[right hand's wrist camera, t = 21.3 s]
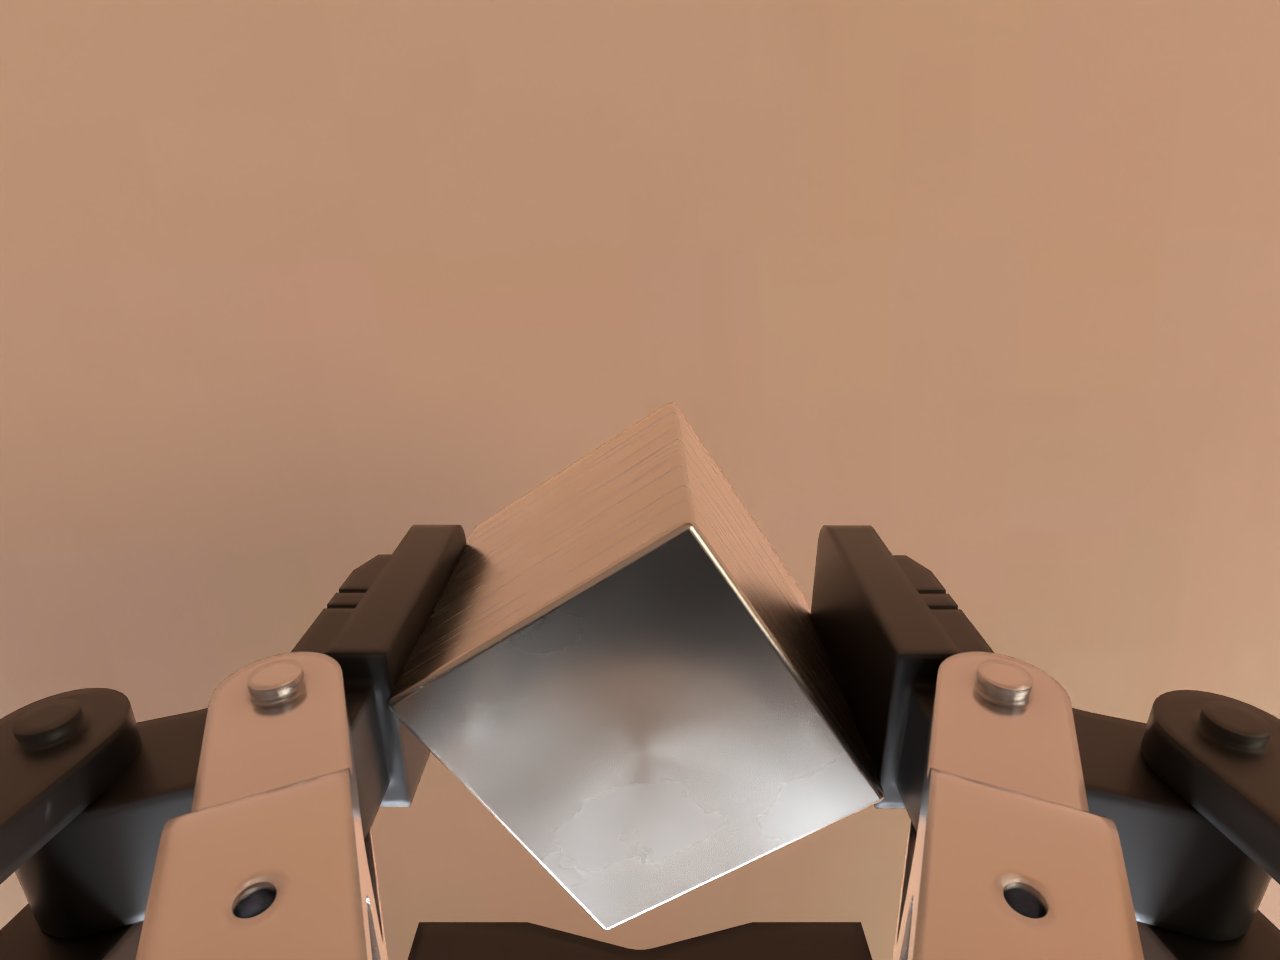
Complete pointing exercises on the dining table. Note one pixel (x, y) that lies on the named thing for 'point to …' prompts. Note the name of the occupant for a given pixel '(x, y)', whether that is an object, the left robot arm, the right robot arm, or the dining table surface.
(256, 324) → the dining table surface
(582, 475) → the block
